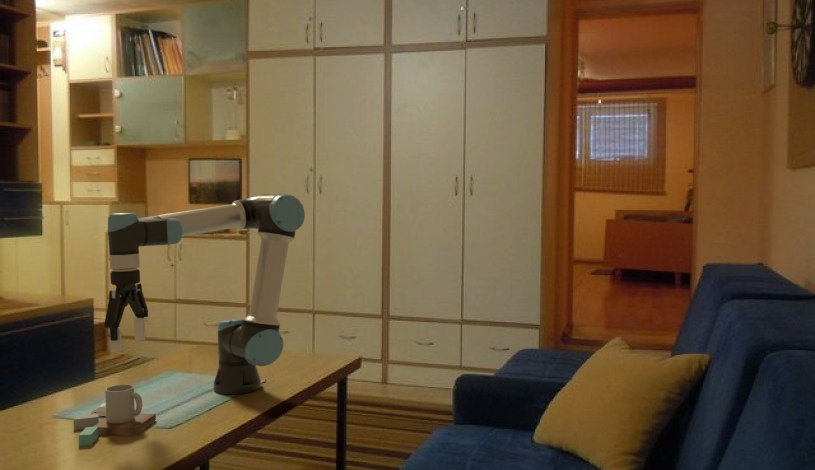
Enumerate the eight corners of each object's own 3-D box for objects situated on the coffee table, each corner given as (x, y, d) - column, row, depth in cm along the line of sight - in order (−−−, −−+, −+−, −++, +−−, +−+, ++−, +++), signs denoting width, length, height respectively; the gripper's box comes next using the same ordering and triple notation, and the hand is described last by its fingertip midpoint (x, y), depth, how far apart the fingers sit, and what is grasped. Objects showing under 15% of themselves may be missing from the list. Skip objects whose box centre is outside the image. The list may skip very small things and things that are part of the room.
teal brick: (86, 438, 180) (86, 427, 180) (98, 437, 181) (98, 426, 181) (79, 446, 174) (78, 435, 174) (91, 446, 175) (91, 434, 175)
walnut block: (155, 420, 194) (155, 413, 193) (135, 435, 182) (135, 428, 182) (115, 419, 195) (114, 412, 194) (92, 434, 183) (91, 427, 183)
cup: (115, 415, 192) (114, 384, 192) (149, 416, 191) (148, 385, 190) (100, 423, 185) (99, 391, 185) (135, 425, 184) (134, 392, 183)
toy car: (95, 412, 203) (95, 397, 203) (136, 411, 204) (136, 396, 203) (86, 418, 197) (86, 403, 197) (129, 417, 198) (129, 403, 197)
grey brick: (98, 424, 192) (98, 413, 191) (98, 427, 189) (97, 417, 189) (75, 426, 189) (74, 416, 189) (73, 430, 187) (73, 419, 186)
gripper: (133, 264, 200) (136, 336, 202) (87, 275, 175) (91, 357, 177) (158, 264, 200) (161, 336, 201) (115, 275, 175) (119, 357, 176)
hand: (128, 346), depth 189 cm, fingers open, 13 cm apart
